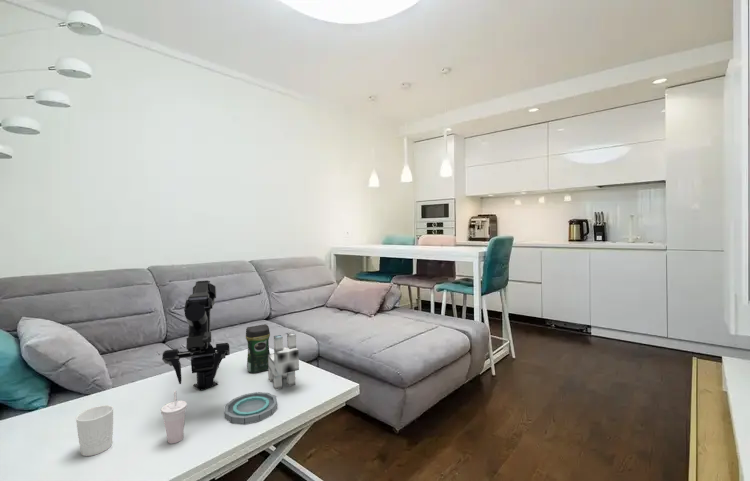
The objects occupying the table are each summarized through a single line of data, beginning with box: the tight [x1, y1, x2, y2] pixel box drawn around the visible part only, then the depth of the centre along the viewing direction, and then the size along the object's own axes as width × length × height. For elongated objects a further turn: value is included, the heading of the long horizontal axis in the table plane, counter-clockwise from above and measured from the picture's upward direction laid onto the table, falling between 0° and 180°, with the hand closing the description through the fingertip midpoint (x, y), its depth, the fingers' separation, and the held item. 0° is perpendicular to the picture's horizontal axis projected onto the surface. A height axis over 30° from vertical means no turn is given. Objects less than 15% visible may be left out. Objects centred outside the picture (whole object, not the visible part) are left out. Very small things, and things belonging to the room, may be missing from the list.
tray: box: [223, 391, 278, 425], centre depth 114 cm, size 16×16×2 cm
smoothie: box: [160, 390, 188, 444], centre depth 98 cm, size 6×6×14 cm
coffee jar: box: [245, 323, 271, 374], centre depth 146 cm, size 10×8×19 cm
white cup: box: [75, 405, 114, 457], centre depth 95 cm, size 8×8×10 cm
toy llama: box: [267, 332, 300, 391], centre depth 132 cm, size 8×18×20 cm, turn 31°
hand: (197, 381), depth 107 cm, fingers open, 9 cm apart
